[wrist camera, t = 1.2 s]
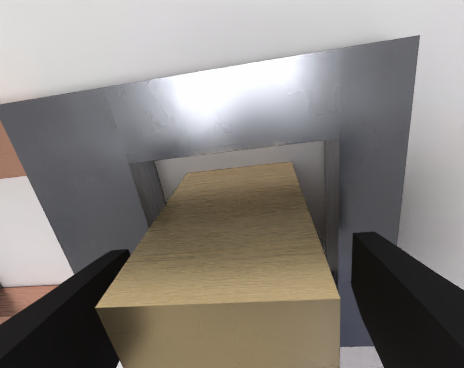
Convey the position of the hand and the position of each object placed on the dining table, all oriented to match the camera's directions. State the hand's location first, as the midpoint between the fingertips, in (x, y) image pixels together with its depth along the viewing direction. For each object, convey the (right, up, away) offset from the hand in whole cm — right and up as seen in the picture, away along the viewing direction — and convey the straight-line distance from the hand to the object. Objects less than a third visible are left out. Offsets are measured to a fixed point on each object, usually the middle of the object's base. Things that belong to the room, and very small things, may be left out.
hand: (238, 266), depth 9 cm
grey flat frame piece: (-5, +1, +4) cm, 7 cm away
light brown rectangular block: (0, +1, +3) cm, 4 cm away
